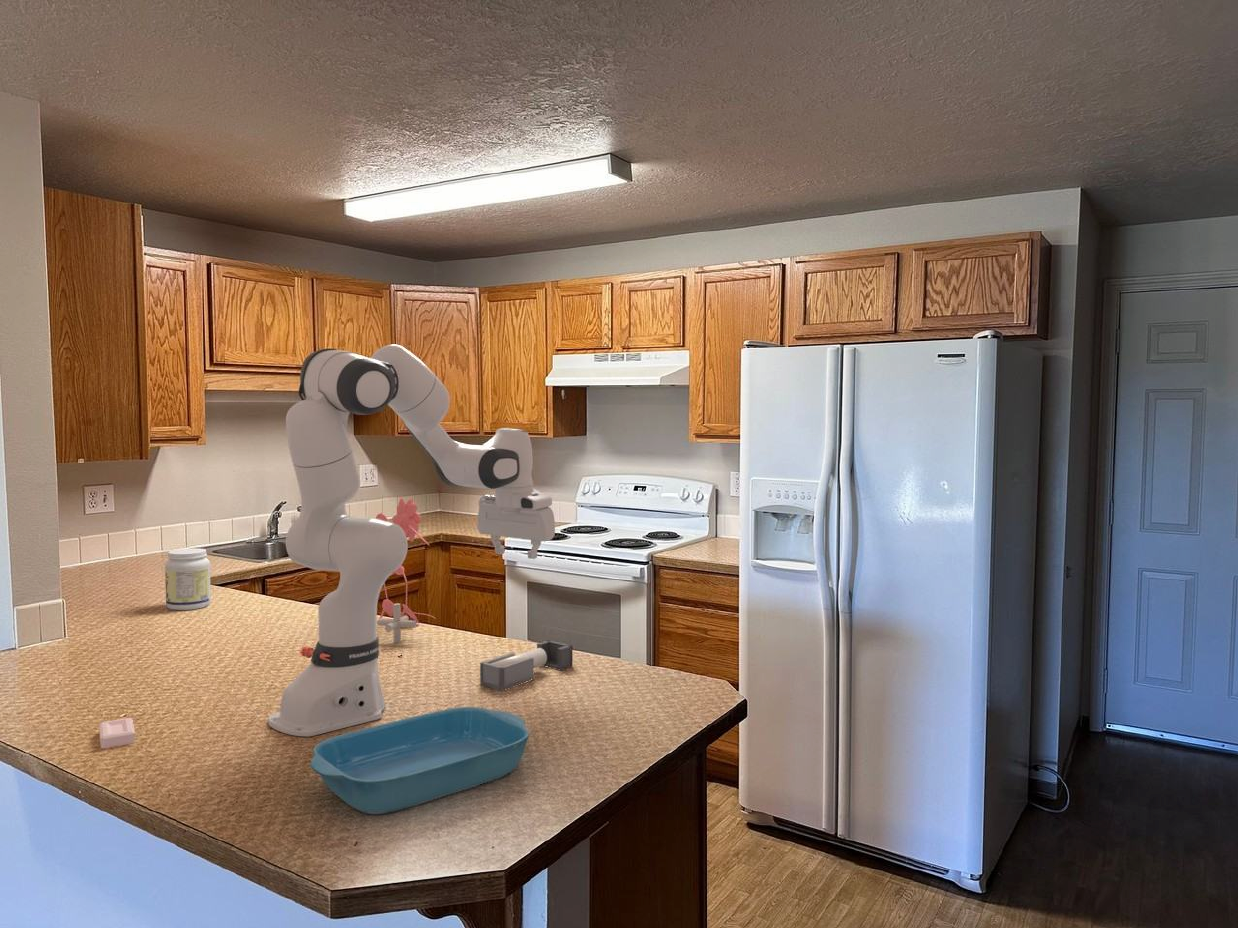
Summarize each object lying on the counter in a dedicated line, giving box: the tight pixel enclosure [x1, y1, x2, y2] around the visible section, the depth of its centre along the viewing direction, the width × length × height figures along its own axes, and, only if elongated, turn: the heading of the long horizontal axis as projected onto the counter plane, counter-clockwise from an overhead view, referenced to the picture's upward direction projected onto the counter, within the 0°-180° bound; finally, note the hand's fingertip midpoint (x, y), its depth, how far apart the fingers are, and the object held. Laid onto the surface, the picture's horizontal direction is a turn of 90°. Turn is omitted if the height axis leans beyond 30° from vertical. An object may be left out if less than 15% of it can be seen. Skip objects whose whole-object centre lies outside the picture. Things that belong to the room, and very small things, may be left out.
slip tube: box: [491, 647, 547, 669], centre depth 196 cm, size 15×4×4 cm, turn 143°
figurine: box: [375, 497, 436, 631], centre depth 247 cm, size 15×26×35 cm, turn 47°
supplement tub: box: [164, 547, 212, 611], centre depth 262 cm, size 12×12×17 cm
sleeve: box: [479, 652, 535, 692], centre depth 193 cm, size 10×7×5 cm, turn 143°
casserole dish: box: [310, 706, 530, 815], centre depth 143 cm, size 37×22×7 cm, turn 132°
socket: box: [536, 639, 574, 671], centre depth 206 cm, size 4×8×5 cm, turn 53°
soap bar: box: [98, 717, 136, 749], centre depth 160 cm, size 5×9×2 cm, turn 32°
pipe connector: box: [377, 602, 418, 644], centre depth 225 cm, size 10×10×10 cm
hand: (516, 555), depth 203 cm, fingers open, 8 cm apart
